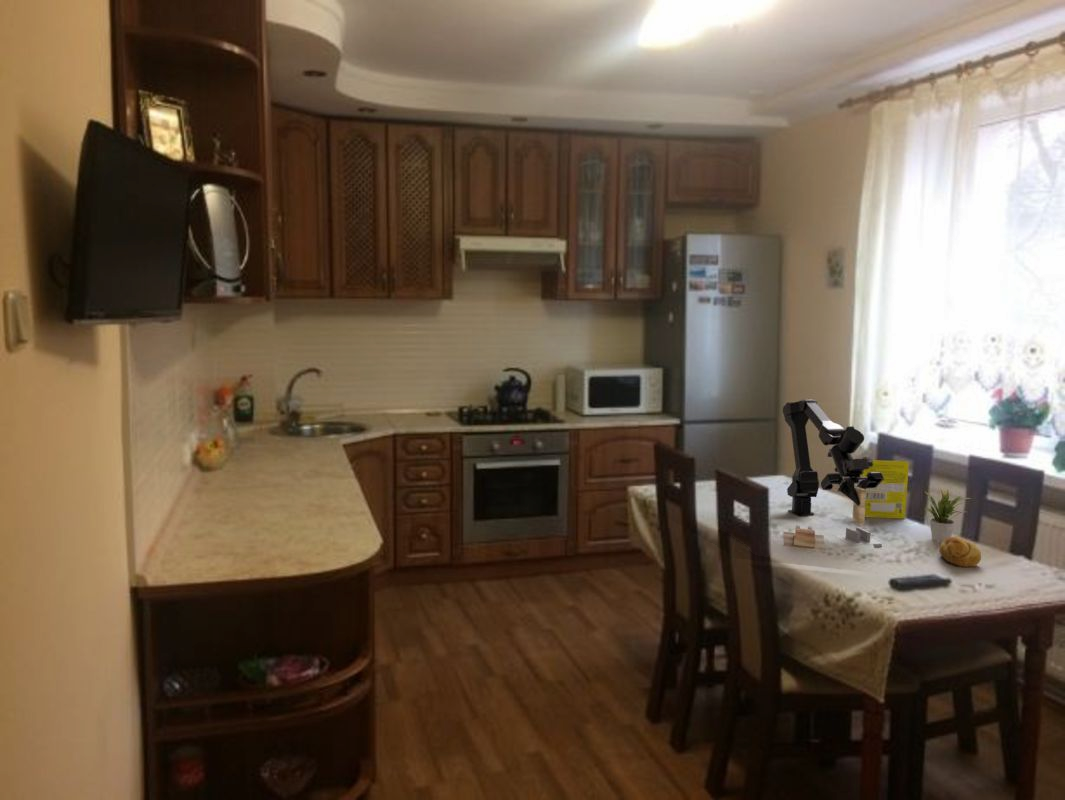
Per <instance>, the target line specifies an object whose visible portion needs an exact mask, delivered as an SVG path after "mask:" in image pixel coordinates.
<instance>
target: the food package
mask: <svg viewBox="0 0 1065 800" xmlns="http://www.w3.org/2000/svg"><path fill="white" fill-rule="evenodd" d="M872 461H873V466H872V467H869V469H865V470H863V472H864V473H863V474H861V475H860V477H865V476H866V475H867V474H868V473H869V472H880V473H882V475H883V477H884V479H883V481H882V482H881V483H880V484H879V485H878V486H877V487H876V488H866V504H865V516H868V517H867V518H877V517H883V518H884V519H906V506H907V494H908V484H909V483H908V481H909V469H910V466H909V465H910V461H908V460H905V461H904V460H879V459H878V460H877V459H876V460H875V459H872ZM885 517H886V518H885ZM883 518H882V519H883Z"/></svg>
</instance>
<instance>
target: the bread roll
mask: <svg viewBox="0 0 1065 800" xmlns="http://www.w3.org/2000/svg"><path fill="white" fill-rule="evenodd" d="M939 553H940V555H941V557H942V559H944V560H945V562H947V563H949V564H951V565H953V566H956V565H957V567H962V566H963V567H965V568H967V567H975V566H977V565H978V564H979V563H980V562H981V560H982V554H981V553H982V552H981V550H980V548H979V546H978V545H977V544H976V543H975V542H972V541H968V540H966V539H964V538H963V537H960V536H956V535H954V536H951V537H948V538H946V539H945V540H944V541H943V542H941V544H940V546H939Z"/></svg>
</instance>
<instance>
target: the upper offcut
mask: <svg viewBox="0 0 1065 800" xmlns="http://www.w3.org/2000/svg"><path fill="white" fill-rule="evenodd" d="M794 533H795V536H796V538H802V539H814V540H815V535H816V532H815V529H812V530H811V529H808V528H800V529H799V528H795V532H794Z"/></svg>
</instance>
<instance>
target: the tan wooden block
mask: <svg viewBox="0 0 1065 800" xmlns="http://www.w3.org/2000/svg"><path fill="white" fill-rule="evenodd" d="M854 488H855V490H856V493H857V495H858V498H859V500H860V505H857V504H856V503H854V502H853V501H852V502H853V504H852V507H853V508H852V523H854V524H856V525H858V526H865V524H866V523H865V520H866V519H865V518H866V517H865V502H866V489H863V488H860V487H856V486H854Z"/></svg>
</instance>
